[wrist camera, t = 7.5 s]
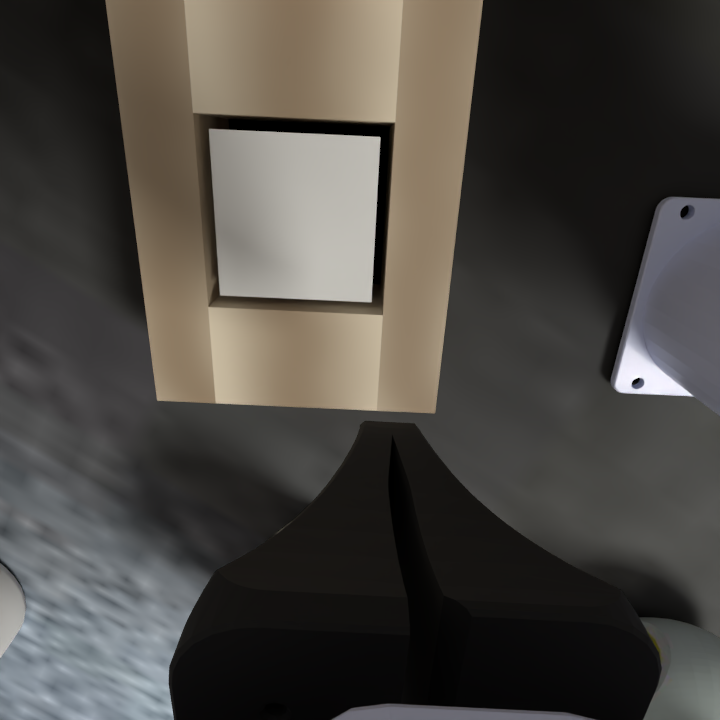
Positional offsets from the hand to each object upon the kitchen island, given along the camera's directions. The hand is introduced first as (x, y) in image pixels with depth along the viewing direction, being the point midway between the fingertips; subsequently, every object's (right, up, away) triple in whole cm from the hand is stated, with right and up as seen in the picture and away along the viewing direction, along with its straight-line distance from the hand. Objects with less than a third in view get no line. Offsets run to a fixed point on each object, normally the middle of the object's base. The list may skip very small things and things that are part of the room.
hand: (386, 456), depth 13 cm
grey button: (-3, +8, +6) cm, 10 cm away
